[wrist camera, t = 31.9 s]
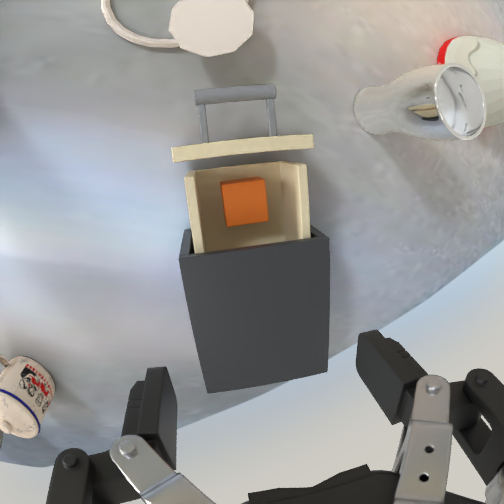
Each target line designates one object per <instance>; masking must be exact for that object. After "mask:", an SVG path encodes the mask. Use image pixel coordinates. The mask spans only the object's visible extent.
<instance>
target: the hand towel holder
mask: <svg viewBox="0 0 504 504" xmlns="http://www.w3.org/2000/svg"><path fill="white" fill-rule="evenodd" d="M248 1H249V0H181V1H179V2H178V3H177V4H176V5H175V6H174V7H173V8H172V12H171V18H170V24H169V31H170V33H171V34H172V35H173V37H174V38H175V39H152V38H148V37H144V36H140V35H137V34H135V33H133V32H131V31H129V30H127V29H126V28H124V27H123V26H122V25H121V24H120V23H119V22H118V21H117V20H116V18H115V17H114V14H113V12H112V10H111V7H110V0H101V5H102V12H103V14H104V17H105V19H106V22H107V24H108V25H109V26H110V27H111V28H112V29H113V30H114V31H115V32H116V33H117V34H118V35H120V36H121V37H123V38H125V39H127V40H129V41H131V42H132V43H136V44H140V45H144V46H148V47H165V48H173V47H178V46H180V47H181V49H184V50H187V51H190V52H193V53H196V54H199V55H202V56H205V57H211V56H215V55H220V54H225V53H231V52H234V51H235V50H236V49H238V48H239V47H240V46H241V45H242V44H243V43H244V42H245V41H246V40H247V39H248V38H249V37H250V36H251V35H252V30H253V21H254V12H253V11H252V9H251V8H250V7H249V5H248V4H247V3H248Z"/></svg>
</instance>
